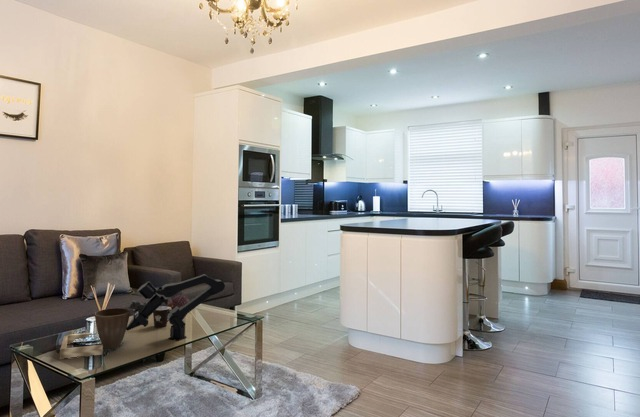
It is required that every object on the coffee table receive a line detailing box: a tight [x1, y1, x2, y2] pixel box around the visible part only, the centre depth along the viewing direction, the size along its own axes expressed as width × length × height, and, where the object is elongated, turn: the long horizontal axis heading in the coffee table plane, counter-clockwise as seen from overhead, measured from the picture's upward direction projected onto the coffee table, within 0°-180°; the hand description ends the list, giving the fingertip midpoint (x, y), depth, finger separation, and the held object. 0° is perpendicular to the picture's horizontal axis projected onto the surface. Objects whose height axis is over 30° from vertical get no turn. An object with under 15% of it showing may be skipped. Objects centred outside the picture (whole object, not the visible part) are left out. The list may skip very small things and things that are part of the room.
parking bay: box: [59, 332, 104, 360], centre depth 185 cm, size 16×22×4 cm
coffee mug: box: [152, 305, 170, 329], centre depth 223 cm, size 12×9×10 cm
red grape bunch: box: [167, 294, 190, 310], centre depth 260 cm, size 18×10×10 cm, turn 154°
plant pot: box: [94, 307, 131, 349], centre depth 190 cm, size 15×15×16 cm
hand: (126, 329), depth 193 cm, fingers closed
